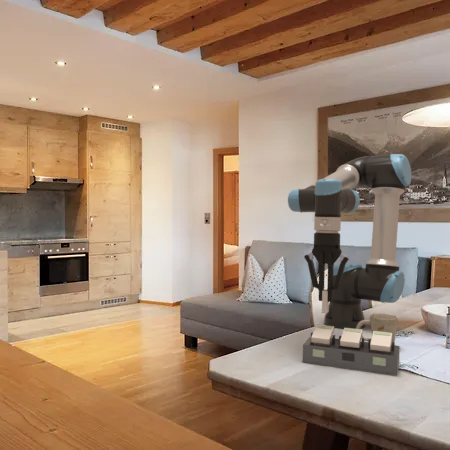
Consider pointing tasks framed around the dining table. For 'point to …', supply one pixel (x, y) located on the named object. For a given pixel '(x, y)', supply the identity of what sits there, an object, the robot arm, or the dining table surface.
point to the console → (352, 356)
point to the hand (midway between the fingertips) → (325, 312)
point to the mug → (381, 324)
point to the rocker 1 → (322, 334)
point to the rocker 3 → (381, 341)
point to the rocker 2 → (351, 337)
